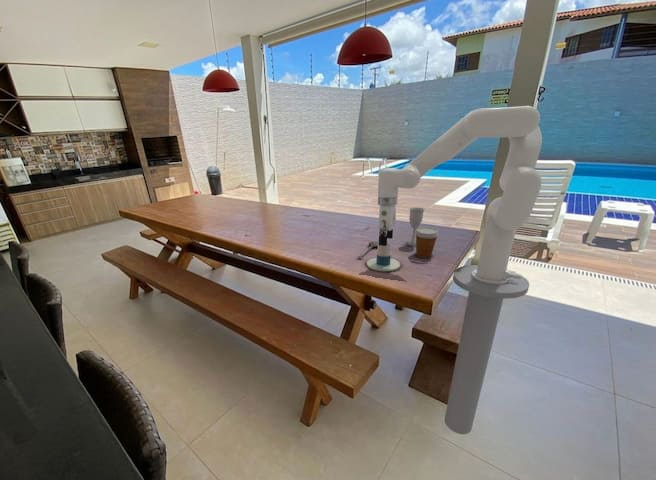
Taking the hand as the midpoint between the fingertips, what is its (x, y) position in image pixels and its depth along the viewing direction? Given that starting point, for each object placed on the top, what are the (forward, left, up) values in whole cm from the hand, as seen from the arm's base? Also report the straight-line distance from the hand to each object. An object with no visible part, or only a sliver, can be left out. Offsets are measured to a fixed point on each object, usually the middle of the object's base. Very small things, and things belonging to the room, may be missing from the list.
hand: (385, 241), depth 128 cm
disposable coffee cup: (-14, -17, -11) cm, 24 cm away
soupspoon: (+11, -13, -11) cm, 20 cm away
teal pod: (0, 0, -10) cm, 10 cm away
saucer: (0, 0, -11) cm, 11 cm away
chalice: (-7, -30, -11) cm, 32 cm away
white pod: (+1, 0, -5) cm, 5 cm away
